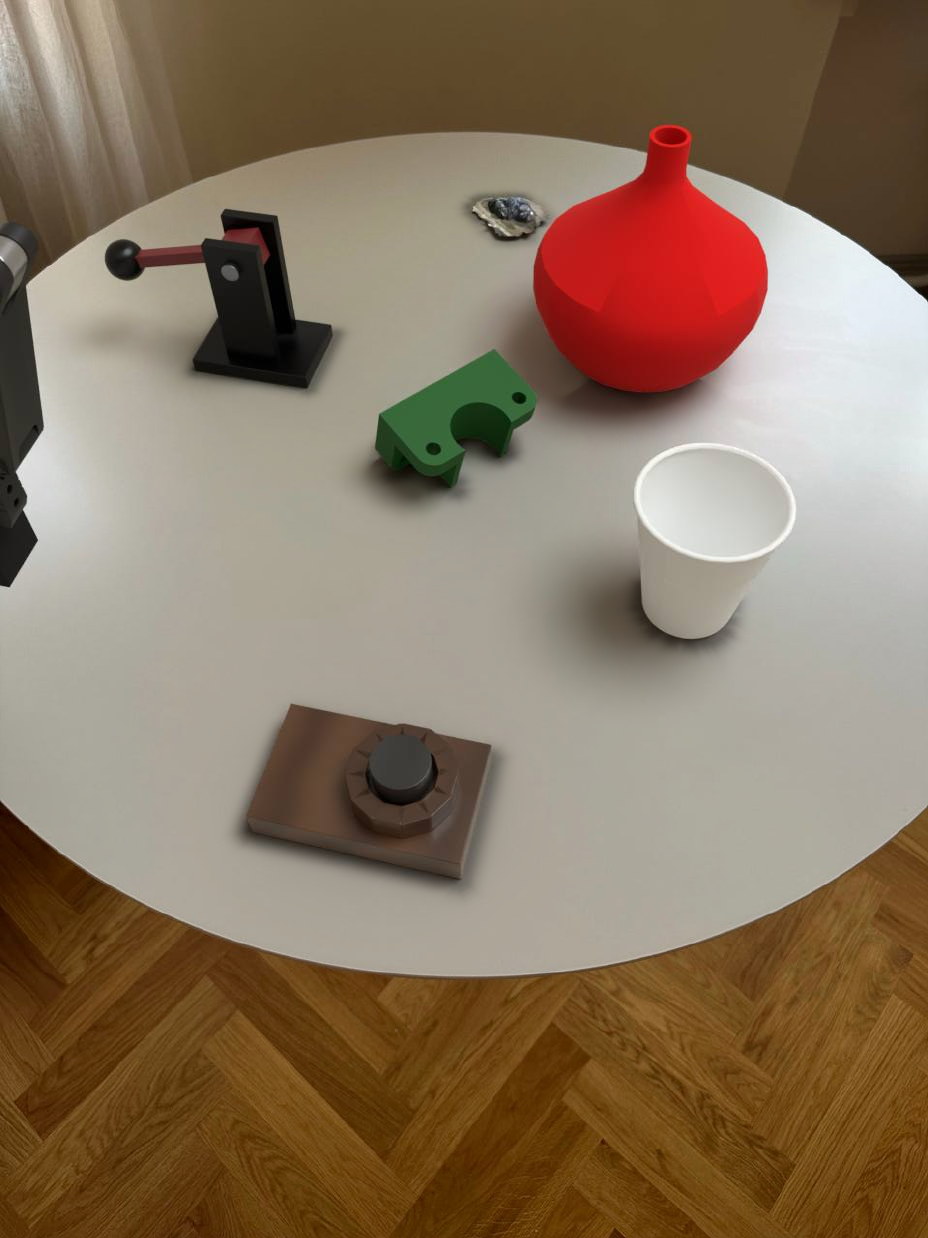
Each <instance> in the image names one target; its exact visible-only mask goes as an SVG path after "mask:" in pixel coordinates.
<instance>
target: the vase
mask: <svg viewBox="0 0 928 1238" xmlns="http://www.w3.org/2000/svg"><path fill="white" fill-rule="evenodd" d="M692 138H693V136H692V133H691V132H690V131H689V130H688V129H687V128H685V127H682V126H679V125H672V124H664V125H659V126H656V127H654V128H653V129H652V130H651V131H650V132H649V138H648V145H647V152H646V159H645V165H644V168H643V172H641V173H640V174H639V175H638V176H637V177H636V178H635V179H633V180H631V181H629V182H627V183H624V184H622V185H620V186H617V187H616V188H613V189H612V190H609V191H607V192H606V191H605V192H604V193H601V194H599V195H596V196H593V197H591V198H589V199H586V200H584V201H582V202H579V203H577V204H575V205H572V206H571V207H569V208H568V209H567V210H565V211H564V212H563V213H562V214H560V215H559V216H558V217H556V218H555V219H554V221H553V222H552V223H551V225H550V226H549V228H548V229H547V230H546V232H545V233H544V235H543V237H542V239H541V240H540V243H539V245H538V247H537V251H536V254H535V259H534V262H533V269H532V270H533V274H532V290H533V297H534V301H535V307H536V309H537V311H538V314H539V316H540V318H541V320H542V323H543V325H544V328H545V329H546V332H547V334H548V337H549V338H550V339H551V341H552V343H553V344H554V346H555V347H556V349H557V351H558V352H559V353H560V354H561V355H562V356H563V357H564V358H565V359H566V360H567V361H569V363H570V364H571V365H573V367H575V368H576V369H577V370H578V371H579V372H581V374H583V376H586V377H587V378H589V379H591V380H593V381H595V382H597V383H599V384H601V385H603V386H607V387H610V388H613V389H617V390H620V391H626V392H632V393H633V392H634V393H643V394H644V393H645V394H646V393H657V392H658V393H660V392H667V391H670V390H675V389H678V388H683V387H685V386H687V385H689V384H690V383H693V382H695V381H697V380H699V379H701V378H702V377H704V376H707V374H708V375H709V373H711V372H713V371H715V370H717V369H718V368H719V367H720V366H721V365H722V364H723V363H725V361H727V360H728V359H729V358H730V357H731V356H732V355H733V354H734V353H735V351H736V350H737V349H738V348H739V347H740V345H741V344H742V343H743V342H744V341H745V340H746V339H747V337H748V336H749V335H750V334H751V333H752V332H753V330H754V328H755V326H756V324H757V322H758V320H759V318H760V315H761V314H762V311H763V307H764V304H765V300H766V297H767V295H768V294H767V293H768V291H769V290H768V289H769V268H768V263H767V255H766V253H765V250H764V248H763V245H762V243H761V241H760V239H759V237H758V235H756V234H755V233H754V231H753V230H752V229H751V228H750V226H748V224H747V223H746V222H745V221H743V220H742V219H740V218H739V217H737V216H736V215H735V214H733V213H731V212H730V211H729V210H727V209H726V208H725V207H722V206H721V205H720V204H719V203H716V202H715V201H714V200H712V199H711V198H710V197H709V196H707V195H706V194H705V193H704V192H702V191H701V190H699V189H698V188H697V187H696V186H694V185H693V184H692V182H691V180H690V179H689V178H688V174H687V173H688V172H687V171H688V169H687V167H688V161H689V157H690V151H691V145H692Z"/></svg>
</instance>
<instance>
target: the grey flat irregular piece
mask: <svg viewBox="0 0 928 1238" xmlns="http://www.w3.org/2000/svg"><path fill="white" fill-rule="evenodd" d="M471 211H472V212H475V213H476V214H477V216H478V218H479V217H480V218H481V219H482V220H484V221H487V225H488V226H489V227H492V228H493V231H494V234H497V235H498V236H499V237H505V238H508V237H510V238H511V237H521V236H522V235H523V233H524V234H531V233H532V232H533V231H534V230H535V227H537V228H539V227H540V225H541V222H543V221H547V220H548V219H551V217H550V215H549V214H547V211H546V210H545V209H544V207H542V205H540V204H537V202H533V201H532V200H531V199H528V198H524V197H520V196H507V197H504V198H503V197H484V198H482V199H479V201H477V202H475V205H473V206H472V210H471Z"/></svg>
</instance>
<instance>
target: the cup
mask: <svg viewBox="0 0 928 1238" xmlns="http://www.w3.org/2000/svg"><path fill="white" fill-rule="evenodd" d="M632 504H633V508H634V511H635V514H636V517H637V535H638V551H639V568H640V569H639V571H640V590H641V592H640V594H641V606H642V608H643V611H644V613H645V615H646V617H647V618H648V620H649V621H650V623H652V624H653V625H654V626H655V627H656V628H658V629H659V630H660V631H662V632H664V633H666V635H667V634H668V635H670V636H673V637H675V638H681V639H687V640H695V639H696V640H697V639H704V638H707V637H710V636H713V635H714V634H716V633H718V632H719V631H720V630H722V629H723V628H724V627H725V626H726V625H727V623H728V621H729V620H730V619H731V617H732V616H733V614H734V613H735V612H736V610H737V608H738V607H739V605H740V603H741V601H742V600H743V599H744V597H745V595H746V594H747V593H748V592H749V590H750V589H751V587H752V585H753V584H754V582H755V581H756V579H757V577H758V576H759V574H760V573H761V572H762V570H763V568H764V567H765V566H766V564H767V563H768V562H769V560H770V558H771V557H772V556H773V554H774V553H775V551H776V549H778V548H779V547H780V546H781V545H783V544H784V542H785V541H786V540H787V538H788V537H789V536H790V535H791V533H792V531H793V528H794V526H795V523H796V519H797V503H796V497H795V495H794V493H793V491H792V488H791V486H790V484H789V483H788V481H787V480H786V478H785V477H784V476H783V475H782V474H781V472H779V471H778V470H777V469H776V468H775V467H774V465H772V464H771V463H769V462H768V461H766V459H764V458H762V457H760V456H759V455H757V454H754V453H752V452H750V451H748V450H746V449H742V448H740V447H737V446H734V445H729V444H724V443H717V442H694V443H693V442H692V443H685V444H682V445H677V446H673V447H671V448H669V449H666V450H664V451H662V452H660V453H658V454H657V455H655V456H654V457H653V458H651V459H650V460H649V461H647V463H646V464H644V466H643V467H642V468H641V469H640V471H639V473H638V475H637V477H636V478H635V480H634V485H633V489H632Z"/></svg>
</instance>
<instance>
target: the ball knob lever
mask: <svg viewBox="0 0 928 1238" xmlns="http://www.w3.org/2000/svg"><path fill="white" fill-rule="evenodd" d="M220 240H225V241H232V242H239V243H246V244H253V245H260V250H261V255H262V260H263V265H264V264H265V262H266V261H267V259H268V257H269V255H270V253H269V251H268V249H267V246H266V244H265V242H264V239H263V237H262V234H261V232H260V230H259V228H248V229H236V230H227V232H226V233H225V234H224V235H223V236H222V238H221V239H220ZM104 264H105V266H106V269H107V270H108V272H109V273H110V274H111V276H113V277H114V278H116V279H117V280H121V281H125V282H127V281H128V282H129V281H134V280H137V279H138V278H140V277H141V276H142V275H143V273H144V272H145V270H146V269H147V268H158V267H171V266H184V265H196V264H197V265H198V264H205V261H204V257H203V253H202V249H201V244H194V245H193V244H192V245H181V246H169V247H158V248H145V249H143V248H141V246H139V244H138V243H136V242H135V241H133V240H131V239H126V238H120V239H116V240H114V241H112V242H110V244H109V245H108V246H107V248H106V250H105V252H104Z"/></svg>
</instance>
